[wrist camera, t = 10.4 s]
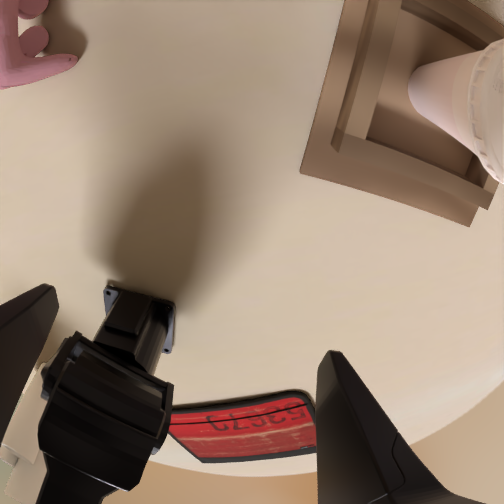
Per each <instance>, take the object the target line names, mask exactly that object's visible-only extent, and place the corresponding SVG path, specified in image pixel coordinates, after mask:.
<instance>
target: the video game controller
mask: <svg viewBox="0 0 504 504" xmlns="http://www.w3.org/2000/svg"><path fill="white" fill-rule="evenodd" d="M48 2H49V0H0V89H7V88H10V87H14V86H20V85H25V84H29V83H33V82H36V81H39V80H42V79H45V78H48V77H50V76H53V75H56V74H59V73H61V72H64V71H66V70H68V69H70V68H72V67H73V66H74V65H75V64H76V63H77V61H78V58H77V56H75V55H72V54H55V55H49V56H44V57H35V56H36V55H37V54H38V53H40V52H41V51H42V50H43V49H44V48H45V47H46V46H47V44H48V41H49V35H48V32H47V30H46V29H45V28H44V27H42V26H33V27H30V28H29V29H27V30H26V31H25V32H24V33H23V34H22V35H21V36H20V37H18V16H19V17H20V18H22V19H33V18H35V17H37V16H39V15H40V14H41V13H42V12H43V11H44V10H45V9H46V8H47V6H48Z"/></svg>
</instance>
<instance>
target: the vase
mask: <svg viewBox="0 0 504 504" xmlns="http://www.w3.org/2000/svg"><path fill="white" fill-rule="evenodd" d="M45 365H46V362H45V363H42V364H41V366H40V367H39V369H38V371H37V373H36V374H35V376H34V378H33V380H32V381H31V383H30V385H29V387H28V389H27V390H26V392H25V394H24V396H23V398H22V400H21V402H20V404H19V405H18V407H17V410H16V411H15V414H14V415H13V417H12V419H11V421H10V423H9V425H8V428H7V430H6V433H5V435H4V438H3V441H2V443H1V444H2V445H1V447H0V459H2V460H3V461H4V462H6V463H7V464H9V465H10V466H12V467H14V468H13V470H12V473H11V475H10V478H9V481H8V483H7V486H6V489H5V491H4V493H5V494H7V495H8V496H10V497H11V498H13V499H15V500H16V501H18V502H20V503H21V504H35V503H36V500H37V497H38V494H39V492H40V489H41V486H42V483H43V480H44V477H45V475H46V472H47V469H46V465H45V461H44V457H43V452H42V451H41V450H40V449H39V445H38V437H37V433H38V424H39V421H40V419H41V416H42V414H43V411H44V409H45V406H46V404H47V401H45V400H44V399H42V398H41V397H40V395H41V392H42V389H43V388H42V384H43V380H42V377H41V374H40V373H41V370H42V368H43V367H44V366H45Z"/></svg>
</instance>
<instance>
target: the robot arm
mask: <svg viewBox="0 0 504 504" xmlns="http://www.w3.org/2000/svg"><path fill="white" fill-rule="evenodd" d="M103 293H104V302H105V311H106V317H105V319H104V321H103V322H102V324H101V326H100V328H99V330H98V331H97V333H96V335H95V337H94V339H93V341H90V340H89V339H87V338H86V337H84V336H82V334H81V333H80V332H78V331H76V332H75V333H74V335H73V336H72V337H71V336H70V337H69V338H65V339H64V341H63V342H62V344H61V346H60V347H59V349H58V350H57V352H56V353H55V354H54V356H53V357H52V358H51V359H50V360H49V361H48V362H47V363H46V365H45V366H44V367H43V368H42V370H41V373H40V374H41V377H42V380H43V384H42V388H43V389H42V392H41V395H40V397H41V398H42V399H44V400H45V401H47V404H46V406H45V409H44V411H43V414H42V416H41V419H40V421H39V424H38V433H37V437H38V445H39V449H40V450H41V451H42V452H43V457H44V461H45V465H46V469H47V472H46V475H45V477H44V480H43V483H42V486H41V489H40V492H39V494H38V497H37V500H36V503H35V504H101V503H102V501H103V499H104V497H106V496H108V495H109V494H112V493H113V492H115V491H117V490H118V489H121V490H124V491H127V492H128V491H130V490H131V489H133V488H134V487H135V486H136V485H138V484H139V482H140V479H141V477H142V474H143V471H144V468H145V465H146V463H147V461H148V459H149V457H150V455H151V454H152V455H154V454H156V453H157V452H158V451H159V450H160V448H161V446H162V445H163V443H164V441H165V439H166V436H167V434H168V431H169V427H170V423H171V413H172V402H173V391H174V385H173V384H171V383H169V382H165V381H163V380H161V379H159V378H157V377H155V376H154V373H155V370H156V367H157V364H158V361H159V358H160V355H161V352H162V353H166V354H170V353H171V351H172V345H173V329H174V315H175V305H174V303H172V302H170V301H166V300H162V299H158V298H154V297H150V296H146V295H142V294H138V293H134V292H130V291H127V290H123V289H119V288H115V287H112V286H106V287H105V289H104V291H103ZM168 307H170V308H168ZM58 309H59V303H58V299H57V294H56V289H55V288H54V286H52V285H49V284H41V285H39V286H37V287H35V288H33V289H31V290H29V291H27V292H25V293H23V294H21V295H19V296H17V297H15V298H13V299H12V300H10V301H8V302H6V303H4V304H2V305H0V447H1V443H2V441H3V438H4V435H5V433H6V430H7V428H8V425H9V422H10V420H11V417H12V415H13V412H14V410H15V407H16V405H17V403H18V400H19V398H20V396H21V393H22V391H23V389H24V387H25V385H26V382H27V380H28V378H29V376H30V374H31V372H32V369H33V367H34V365H35V363H36V361H37V359H38V357H39V355H40V353H41V351H42V349H43V347H44V344H45V342H46V340H47V337H48V334H49V332H50V329H51V327H52V325H53V322H54V320H55V317H56V315H57V313H58ZM315 425H316V448H317V480H318V504H485V503H482V502H478V501H474V500H471V499H468V498H465V497H462V496H458V495H456V494H454V493H452V492H450V491H449V490H447V489H446V488H445V487H444V486H443V485H442V484H441V483H440V482H439V481H438V480H437V479H436V478H435V476H434V475H433V474H432V473H431V472H430V471H429V470H428V468H427V467H426V466H425V465H424V464H423V463H422V462H421V461H420V459H419V458H418V457H417V455H416V454H415V453H414V452H413V451H412V449H411V448H410V447H409V445H408V444H407V443H406V441H405V440H404V438H403V437H402V436H401V434H400V433H399V432H398V430H397V429H396V427H395V426H394V424H393V423H392V422H391V420H390V419H389V417H388V416H387V415H386V413H385V412H384V410H383V409H382V408H381V406H380V405H379V403H378V402H377V401H376V399H375V398H374V396H373V395H372V394H371V392H370V391H369V389H368V388H367V387H366V385H365V384H364V382H363V381H362V380H361V378H360V377H359V376H358V374H357V373H356V371H355V370H354V369H353V367H352V366H351V364H350V363H349V362H348V360H347V359H346V358H345V356H344V355H343V353H342V352H340V351H334V350H329V351H327V353H326V355H325V356H324V358H323V360H322V361H321V363H320V365H319V367H318V372H317V389H316V404H315Z"/></svg>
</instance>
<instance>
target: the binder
mask: <svg viewBox="0 0 504 504" xmlns="http://www.w3.org/2000/svg"><path fill="white" fill-rule="evenodd" d="M168 434H169V435H170V436H171V437H172V438H173V439H175V440H176V441H177V442H178V443H179V444H180V445H181V446H182V447H184V448H185V449H186V450H187V451H188V452H190V453H191V454H192V455H193V456H194V457H195V458H197V459H198V460H199V461H201V462H202V463H227V462H245V461H255V460H266V459H275V458H284V457H292V456H299V455H305V454H312V453H317V448H316V425H315V408H314V407H313V405H312V403H311V402H310V399H309V398H308V397H307V396H306V394H304V393H302V392H299V391H287V392H281V393H278V394H274V395H269V396H265V397H261V398H256V399H252V400H246V401H240V402H235V403H229V404H222V405H216V406H209V407H201V408H193V409H172V413H171V423H170V427H169V431H168Z"/></svg>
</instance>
